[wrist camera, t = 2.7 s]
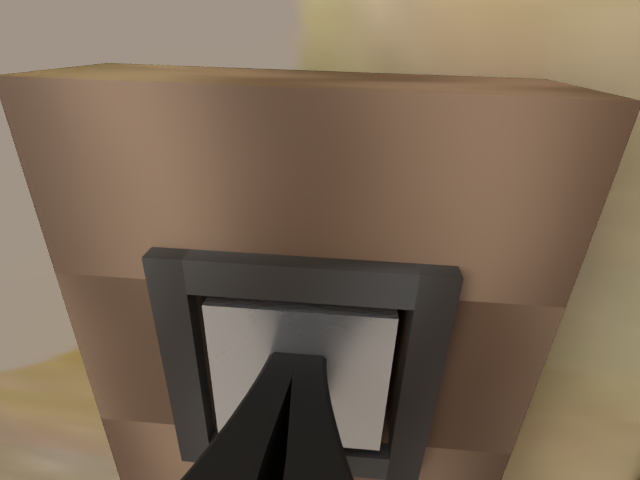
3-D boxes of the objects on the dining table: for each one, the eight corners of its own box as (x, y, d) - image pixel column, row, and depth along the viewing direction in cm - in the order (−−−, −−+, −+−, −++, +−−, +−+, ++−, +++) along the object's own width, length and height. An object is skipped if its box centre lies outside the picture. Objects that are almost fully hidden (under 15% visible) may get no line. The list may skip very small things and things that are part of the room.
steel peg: (385, 236, 13) (398, 319, 9) (373, 346, 15) (379, 450, 11) (245, 228, 13) (201, 305, 9) (252, 337, 15) (218, 436, 11)
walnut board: (546, 79, 11) (662, 105, 7) (414, 580, 22) (427, 698, 18) (106, 63, 11) (-30, 77, 7) (202, 557, 23) (170, 666, 19)
